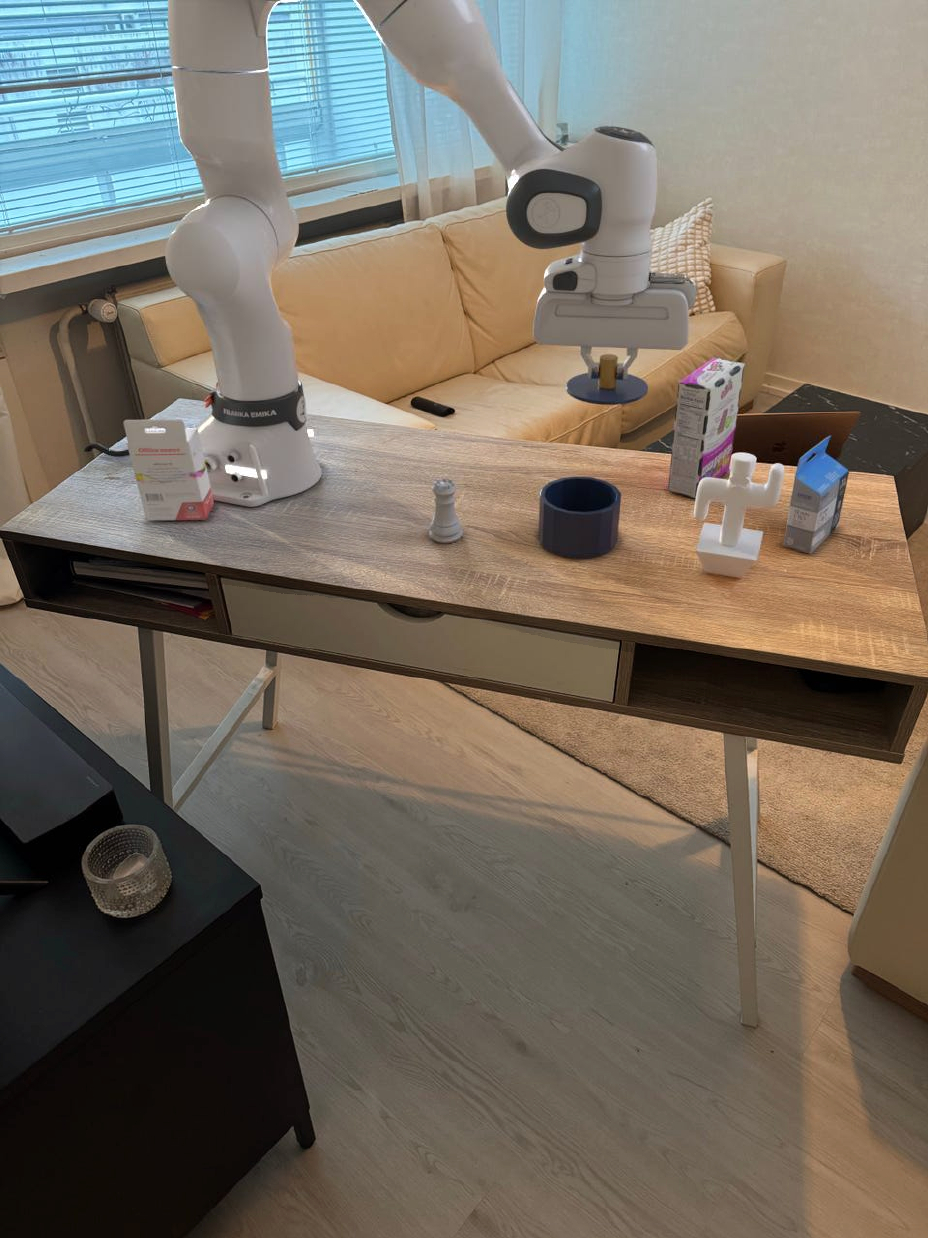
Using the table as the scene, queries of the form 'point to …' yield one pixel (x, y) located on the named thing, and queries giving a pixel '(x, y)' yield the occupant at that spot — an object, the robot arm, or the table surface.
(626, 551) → the table surface
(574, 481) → the tin
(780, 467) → the figurine
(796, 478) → the label tape box
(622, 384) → the tin lid
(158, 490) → the ink cartridge box
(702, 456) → the candy bar box
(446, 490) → the rook chess piece
